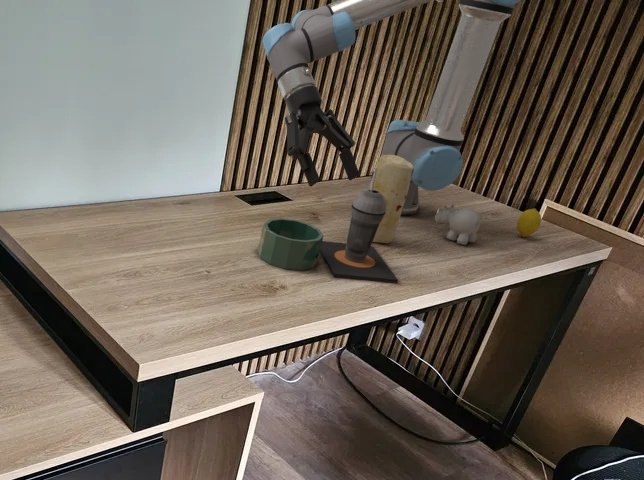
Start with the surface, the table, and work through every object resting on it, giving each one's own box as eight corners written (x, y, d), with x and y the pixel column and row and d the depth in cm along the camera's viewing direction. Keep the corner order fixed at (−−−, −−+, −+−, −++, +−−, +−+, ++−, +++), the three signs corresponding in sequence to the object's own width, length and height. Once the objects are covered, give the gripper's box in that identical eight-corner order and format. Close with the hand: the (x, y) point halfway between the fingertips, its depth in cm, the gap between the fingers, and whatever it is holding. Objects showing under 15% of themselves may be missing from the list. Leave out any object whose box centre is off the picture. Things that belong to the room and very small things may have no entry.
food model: (397, 244, 167) (423, 162, 156) (381, 248, 163) (406, 165, 152) (365, 229, 173) (388, 150, 162) (348, 233, 169) (371, 152, 158)
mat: (314, 243, 160) (315, 239, 159) (371, 249, 161) (372, 245, 161) (333, 276, 145) (334, 273, 144) (396, 283, 146) (398, 279, 146)
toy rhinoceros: (440, 226, 182) (450, 195, 178) (478, 244, 174) (490, 212, 170) (423, 229, 178) (433, 198, 174) (461, 247, 170) (473, 215, 166)
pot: (254, 243, 155) (260, 215, 152) (308, 248, 156) (315, 221, 153) (263, 266, 144) (269, 238, 141) (321, 272, 146) (329, 244, 142)
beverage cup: (352, 266, 148) (378, 176, 138) (331, 253, 154) (355, 164, 143) (377, 264, 152) (404, 175, 141) (356, 250, 157) (381, 164, 147)
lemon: (535, 242, 182) (548, 213, 177) (514, 238, 182) (526, 209, 178) (530, 235, 186) (542, 207, 182) (509, 231, 187) (521, 203, 183)
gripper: (272, 84, 143) (309, 177, 142) (348, 83, 158) (382, 167, 156) (250, 104, 149) (285, 194, 148) (325, 101, 164) (358, 182, 162)
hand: (335, 180), depth 152 cm, fingers open, 13 cm apart
